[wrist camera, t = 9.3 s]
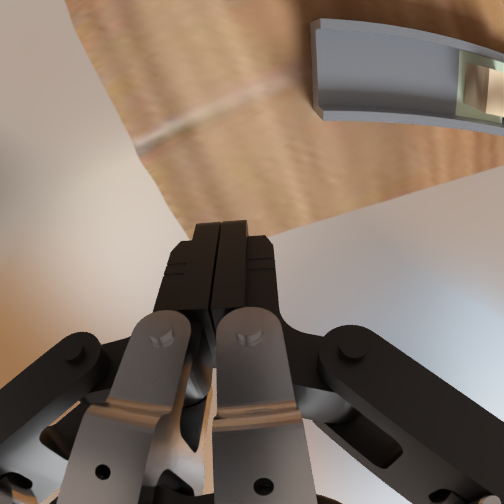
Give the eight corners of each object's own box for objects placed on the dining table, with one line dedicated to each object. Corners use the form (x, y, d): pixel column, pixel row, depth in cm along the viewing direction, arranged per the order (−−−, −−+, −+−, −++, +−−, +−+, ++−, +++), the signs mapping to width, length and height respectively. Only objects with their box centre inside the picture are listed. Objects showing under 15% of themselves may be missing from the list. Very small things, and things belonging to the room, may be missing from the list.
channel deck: (309, 22, 26) (320, 18, 22) (531, 68, 25) (557, 77, 21) (313, 109, 32) (323, 120, 28) (524, 131, 31) (548, 145, 27)
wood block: (465, 62, 25) (489, 68, 21) (495, 70, 24) (519, 78, 21) (463, 102, 28) (485, 113, 24) (492, 108, 27) (515, 119, 24)
